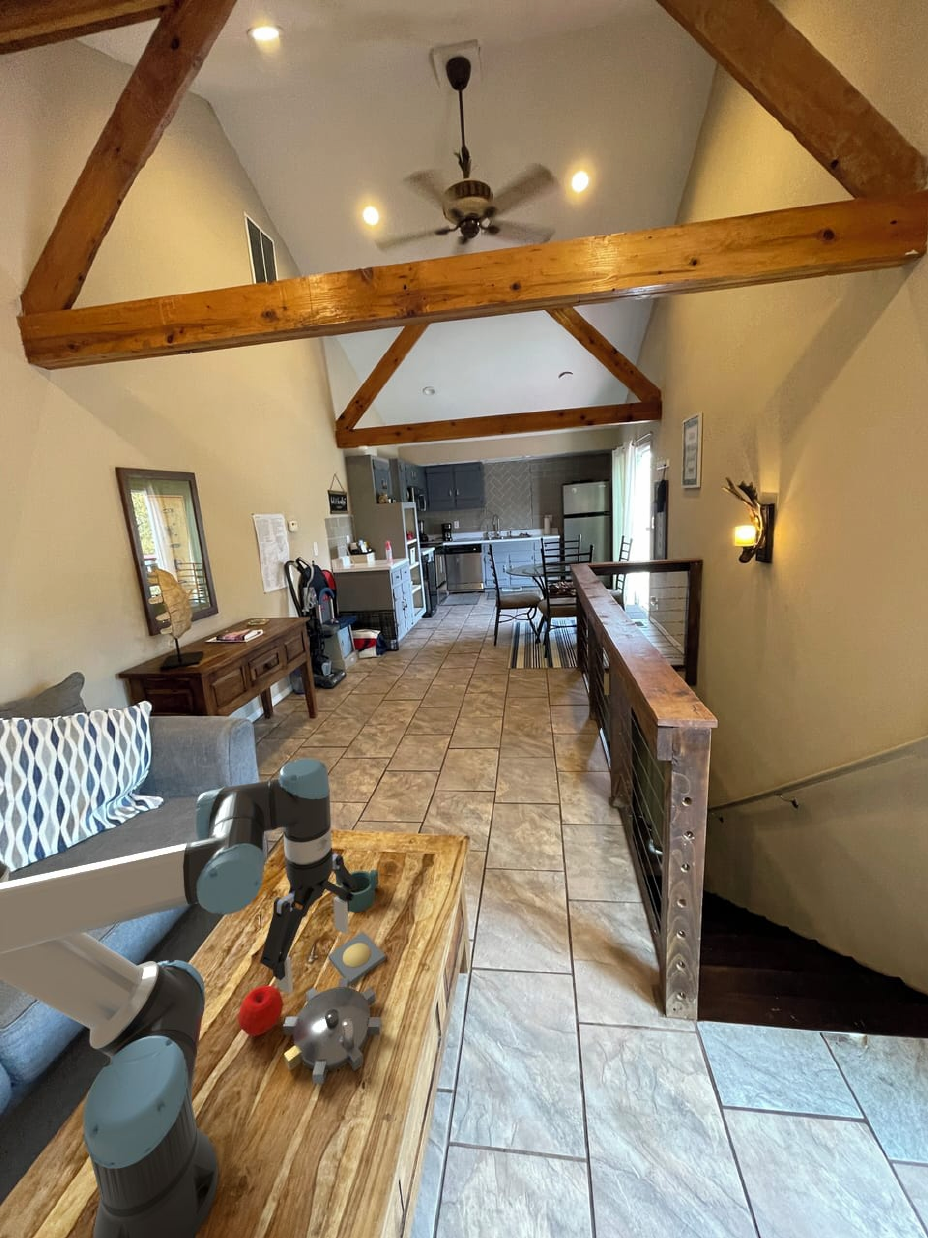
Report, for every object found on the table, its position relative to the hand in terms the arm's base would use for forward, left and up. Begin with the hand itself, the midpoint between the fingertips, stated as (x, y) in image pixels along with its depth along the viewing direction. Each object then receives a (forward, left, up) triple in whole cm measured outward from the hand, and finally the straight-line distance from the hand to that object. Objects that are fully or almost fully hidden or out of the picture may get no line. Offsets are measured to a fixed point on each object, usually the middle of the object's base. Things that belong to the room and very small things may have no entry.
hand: (315, 958), depth 88 cm
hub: (+2, +1, -20) cm, 20 cm away
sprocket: (+2, +1, -20) cm, 20 cm away
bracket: (+24, +27, -21) cm, 42 cm away
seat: (+14, +12, -20) cm, 28 cm away
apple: (-7, +12, -20) cm, 25 cm away
